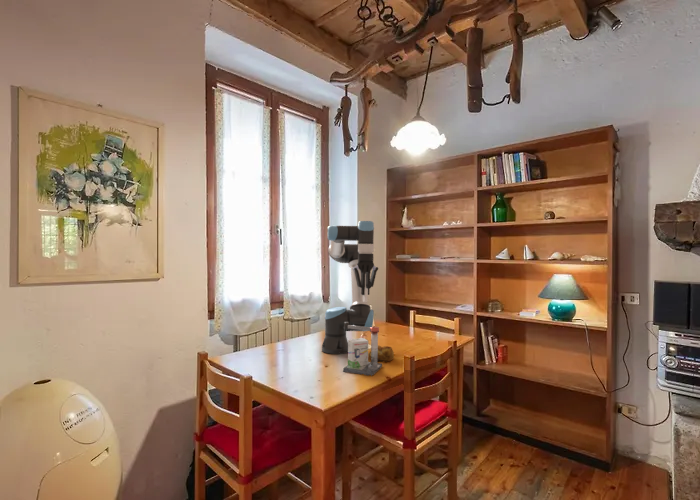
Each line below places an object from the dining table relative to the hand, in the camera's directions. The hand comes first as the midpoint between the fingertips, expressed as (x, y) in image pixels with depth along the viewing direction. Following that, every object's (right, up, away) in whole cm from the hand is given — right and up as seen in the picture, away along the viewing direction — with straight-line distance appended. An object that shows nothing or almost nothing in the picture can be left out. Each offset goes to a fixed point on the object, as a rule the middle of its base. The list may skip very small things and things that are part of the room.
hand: (365, 301), depth 180 cm
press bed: (-1, -31, -6) cm, 31 cm away
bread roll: (+9, -31, +9) cm, 33 cm away
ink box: (-4, -29, -6) cm, 30 cm away
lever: (-2, -14, -6) cm, 15 cm away
